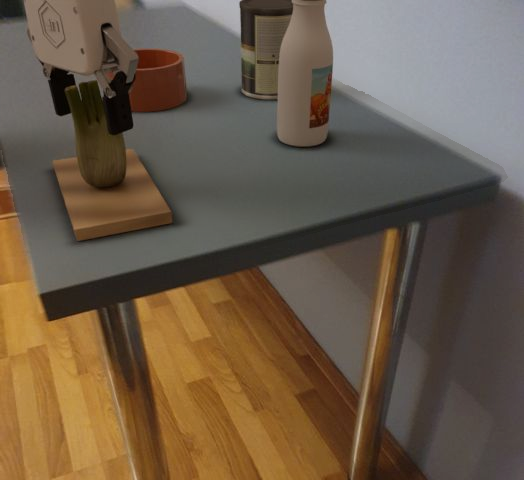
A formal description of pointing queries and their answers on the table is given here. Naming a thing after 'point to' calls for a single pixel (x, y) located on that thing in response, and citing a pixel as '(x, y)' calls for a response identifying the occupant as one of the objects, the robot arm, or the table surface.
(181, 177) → the table surface
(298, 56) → the milk bottle
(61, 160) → the board
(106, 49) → the robot arm
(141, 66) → the pot
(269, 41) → the coffee can
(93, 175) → the fennel bulb
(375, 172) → the table surface
